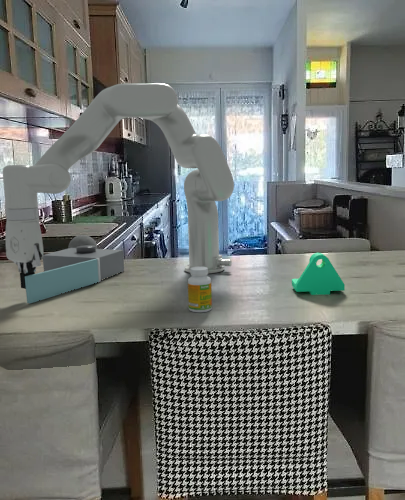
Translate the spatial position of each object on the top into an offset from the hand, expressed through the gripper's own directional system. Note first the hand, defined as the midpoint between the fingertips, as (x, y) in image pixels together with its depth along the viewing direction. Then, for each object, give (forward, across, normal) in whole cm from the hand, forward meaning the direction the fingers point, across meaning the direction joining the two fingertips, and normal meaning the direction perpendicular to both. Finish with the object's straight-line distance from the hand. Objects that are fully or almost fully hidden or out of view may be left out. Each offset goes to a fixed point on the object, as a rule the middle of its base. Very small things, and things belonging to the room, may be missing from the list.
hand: (28, 287), depth 122 cm
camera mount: (+3, +57, +47) cm, 74 cm away
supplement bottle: (+3, +42, +18) cm, 45 cm away
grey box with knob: (+3, -12, +27) cm, 30 cm away
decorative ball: (+3, -28, +39) cm, 48 cm away
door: (+3, +2, +10) cm, 11 cm away
